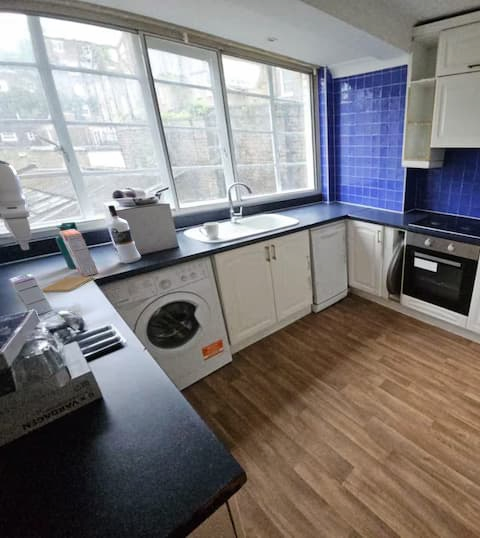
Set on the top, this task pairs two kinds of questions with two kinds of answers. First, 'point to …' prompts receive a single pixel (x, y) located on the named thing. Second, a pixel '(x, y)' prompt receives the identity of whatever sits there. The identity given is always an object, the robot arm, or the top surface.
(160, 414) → the top surface
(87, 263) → the cracker box
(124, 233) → the vodka
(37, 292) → the syrup box
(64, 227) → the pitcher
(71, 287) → the cork mat
